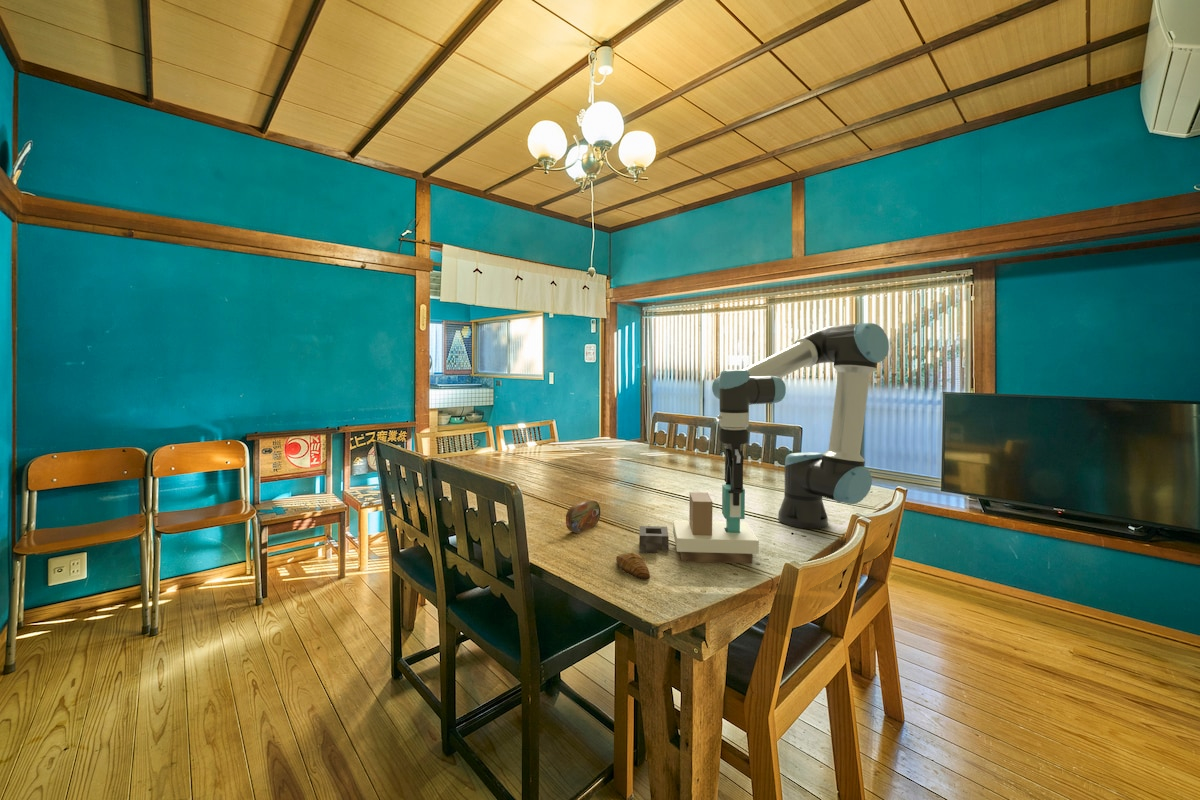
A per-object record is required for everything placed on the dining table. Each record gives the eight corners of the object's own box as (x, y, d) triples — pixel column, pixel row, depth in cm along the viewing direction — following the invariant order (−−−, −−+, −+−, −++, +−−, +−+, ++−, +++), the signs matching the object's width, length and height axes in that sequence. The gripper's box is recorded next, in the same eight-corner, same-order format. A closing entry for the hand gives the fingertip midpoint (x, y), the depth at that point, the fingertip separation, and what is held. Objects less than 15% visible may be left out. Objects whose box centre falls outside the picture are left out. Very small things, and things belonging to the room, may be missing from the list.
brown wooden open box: (742, 549, 135) (742, 528, 135) (751, 566, 123) (752, 544, 123) (677, 547, 137) (678, 526, 136) (681, 564, 125) (681, 542, 125)
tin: (571, 536, 146) (571, 509, 146) (564, 534, 148) (563, 507, 148) (601, 523, 158) (601, 498, 158) (593, 521, 160) (593, 496, 160)
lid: (746, 533, 136) (746, 490, 135) (758, 553, 122) (759, 505, 121) (673, 532, 138) (673, 489, 137) (676, 551, 123) (677, 504, 123)
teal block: (740, 539, 132) (740, 484, 131) (744, 546, 127) (744, 489, 126) (721, 539, 132) (722, 484, 131) (725, 546, 127) (725, 489, 126)
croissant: (606, 565, 125) (606, 546, 125) (628, 559, 129) (628, 541, 128) (635, 585, 114) (635, 565, 113) (658, 579, 117) (658, 559, 117)
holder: (666, 543, 140) (666, 526, 140) (668, 553, 132) (668, 536, 132) (639, 542, 141) (639, 525, 140) (639, 553, 133) (639, 535, 132)
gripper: (714, 423, 136) (713, 503, 138) (725, 432, 119) (724, 524, 120) (741, 423, 136) (740, 503, 138) (756, 432, 118) (755, 524, 120)
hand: (733, 513), depth 129 cm, fingers closed on teal block, 5 cm apart
